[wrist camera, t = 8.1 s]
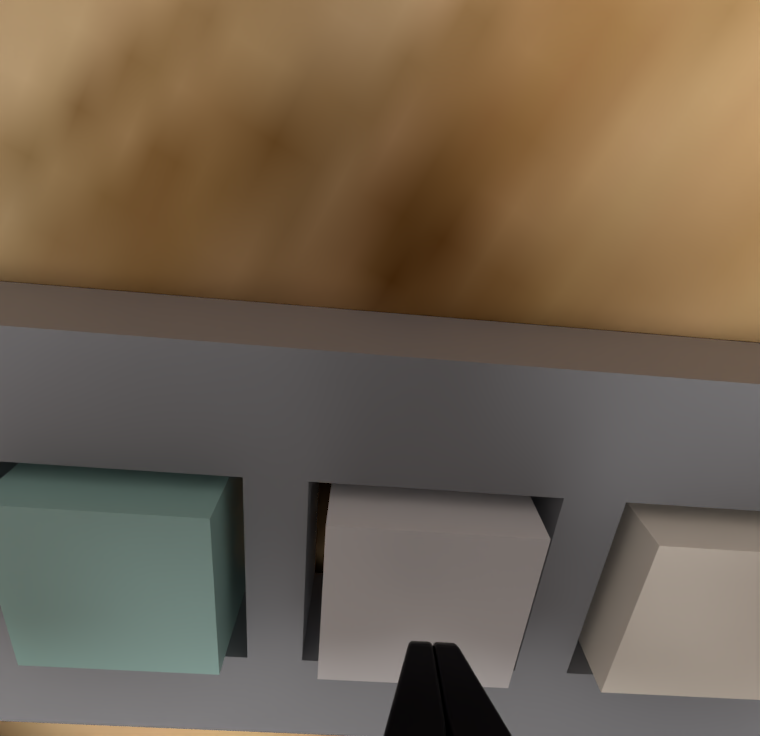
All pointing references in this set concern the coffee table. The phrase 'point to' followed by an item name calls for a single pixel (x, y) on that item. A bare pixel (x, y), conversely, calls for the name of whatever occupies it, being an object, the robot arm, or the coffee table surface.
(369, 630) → the key
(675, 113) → the coffee table surface
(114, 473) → the key
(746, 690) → the key
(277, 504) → the keyguard frame
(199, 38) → the coffee table surface
